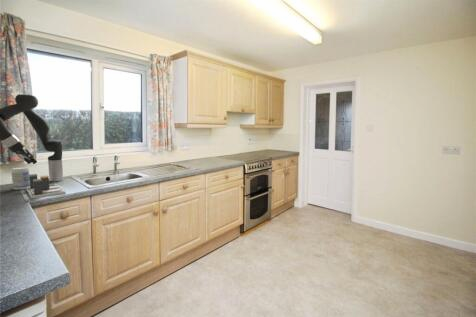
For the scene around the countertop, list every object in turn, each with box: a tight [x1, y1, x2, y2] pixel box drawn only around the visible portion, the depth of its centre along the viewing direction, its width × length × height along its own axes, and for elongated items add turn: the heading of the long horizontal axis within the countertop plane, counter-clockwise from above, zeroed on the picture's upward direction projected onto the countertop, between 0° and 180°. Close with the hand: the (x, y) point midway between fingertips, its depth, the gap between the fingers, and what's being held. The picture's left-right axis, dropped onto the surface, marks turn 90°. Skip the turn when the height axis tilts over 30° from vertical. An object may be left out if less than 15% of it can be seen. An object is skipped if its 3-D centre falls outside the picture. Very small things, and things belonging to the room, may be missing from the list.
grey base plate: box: [25, 173, 66, 199], centre depth 174 cm, size 28×18×11 cm, turn 44°
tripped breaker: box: [39, 174, 50, 190], centre depth 174 cm, size 4×4×9 cm
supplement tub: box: [11, 166, 30, 191], centre depth 182 cm, size 10×10×15 cm
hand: (32, 163), depth 168 cm, fingers open, 8 cm apart
